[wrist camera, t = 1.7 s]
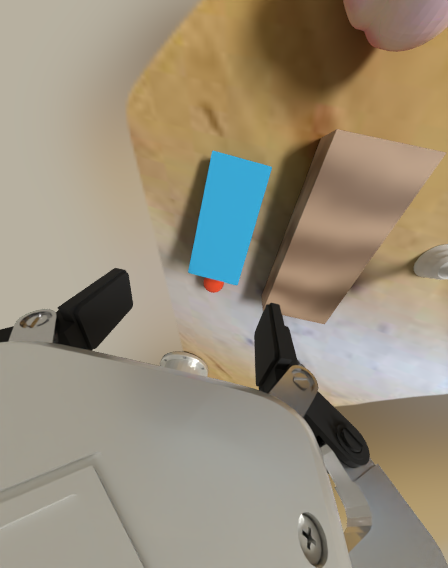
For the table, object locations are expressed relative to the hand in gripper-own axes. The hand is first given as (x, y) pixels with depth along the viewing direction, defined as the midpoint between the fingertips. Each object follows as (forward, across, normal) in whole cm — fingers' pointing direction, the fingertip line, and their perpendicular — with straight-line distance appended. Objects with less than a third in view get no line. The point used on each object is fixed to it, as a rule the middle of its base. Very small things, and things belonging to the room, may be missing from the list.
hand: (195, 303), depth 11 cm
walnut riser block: (+17, -13, -1) cm, 21 cm away
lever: (+17, 0, 0) cm, 17 cm away
